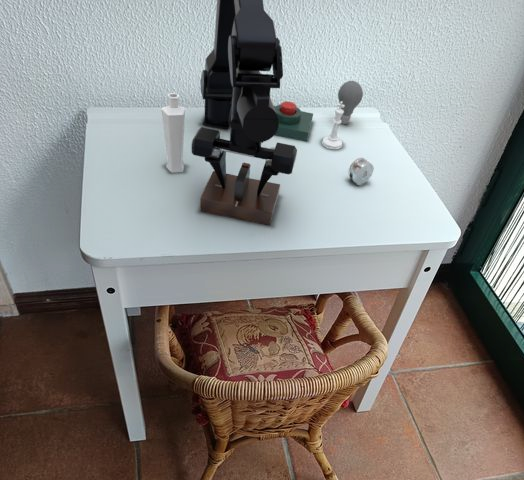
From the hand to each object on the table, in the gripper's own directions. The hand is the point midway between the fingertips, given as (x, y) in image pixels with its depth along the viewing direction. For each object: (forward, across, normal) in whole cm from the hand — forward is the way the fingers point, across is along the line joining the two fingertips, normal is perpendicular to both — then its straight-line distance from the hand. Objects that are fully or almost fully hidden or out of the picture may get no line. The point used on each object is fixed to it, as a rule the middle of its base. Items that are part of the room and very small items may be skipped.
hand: (241, 190), depth 96 cm
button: (-1, -4, -35) cm, 35 cm away
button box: (+3, -4, -35) cm, 35 cm away
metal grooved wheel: (+3, -23, -17) cm, 29 cm away
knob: (0, 0, 0) cm, 0 cm away
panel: (+3, 0, 0) cm, 3 cm away
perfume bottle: (+3, +16, -8) cm, 18 cm away
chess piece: (+3, -16, -31) cm, 35 cm away
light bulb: (+3, -18, -43) cm, 47 cm away
